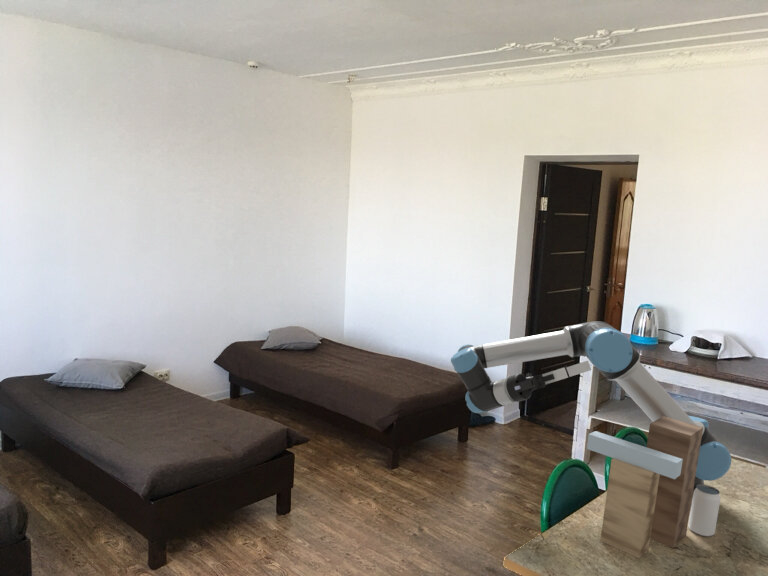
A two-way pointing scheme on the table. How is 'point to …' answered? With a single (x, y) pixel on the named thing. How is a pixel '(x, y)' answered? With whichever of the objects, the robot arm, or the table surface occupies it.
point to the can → (704, 510)
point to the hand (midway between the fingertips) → (577, 368)
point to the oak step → (629, 507)
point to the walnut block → (679, 491)
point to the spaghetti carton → (635, 454)
